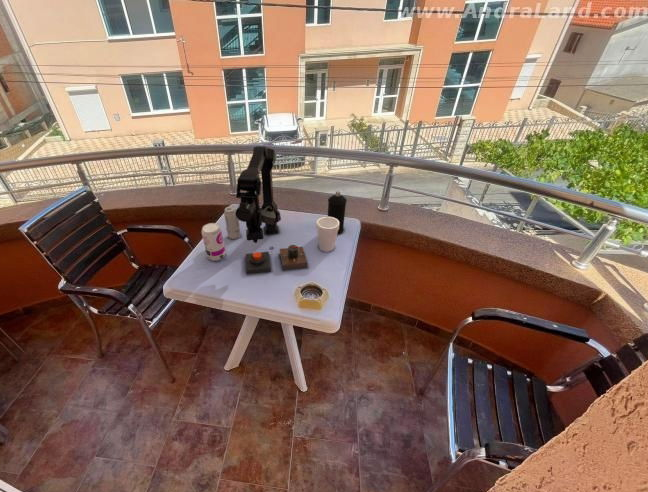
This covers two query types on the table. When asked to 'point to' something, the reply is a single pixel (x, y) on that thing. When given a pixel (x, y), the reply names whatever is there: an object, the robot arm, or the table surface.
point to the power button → (257, 256)
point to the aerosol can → (337, 209)
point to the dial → (293, 251)
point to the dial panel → (293, 259)
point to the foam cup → (327, 232)
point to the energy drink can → (232, 223)
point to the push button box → (258, 263)
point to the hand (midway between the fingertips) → (255, 241)
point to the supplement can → (213, 241)
